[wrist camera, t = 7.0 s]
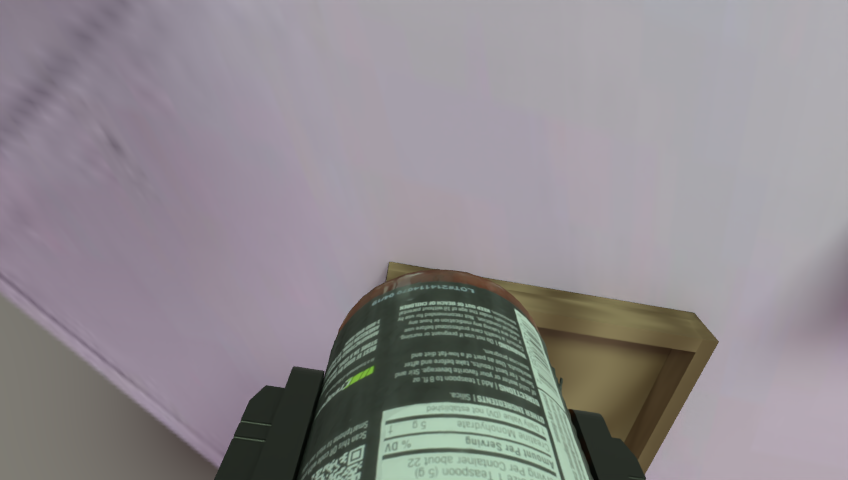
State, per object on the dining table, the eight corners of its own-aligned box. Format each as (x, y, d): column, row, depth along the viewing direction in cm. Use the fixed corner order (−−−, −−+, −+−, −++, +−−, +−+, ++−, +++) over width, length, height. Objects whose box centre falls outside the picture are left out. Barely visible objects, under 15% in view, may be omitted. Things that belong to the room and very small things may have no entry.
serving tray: (355, 444, 37) (350, 479, 35) (389, 261, 31) (385, 287, 28) (608, 479, 39) (621, 515, 36) (694, 312, 32) (718, 341, 29)
